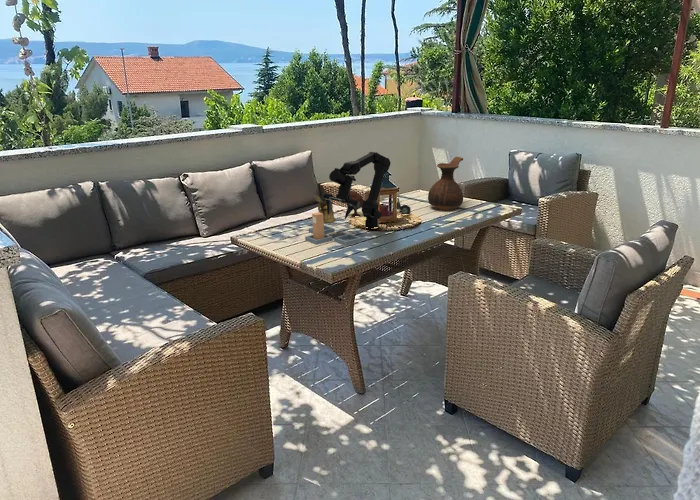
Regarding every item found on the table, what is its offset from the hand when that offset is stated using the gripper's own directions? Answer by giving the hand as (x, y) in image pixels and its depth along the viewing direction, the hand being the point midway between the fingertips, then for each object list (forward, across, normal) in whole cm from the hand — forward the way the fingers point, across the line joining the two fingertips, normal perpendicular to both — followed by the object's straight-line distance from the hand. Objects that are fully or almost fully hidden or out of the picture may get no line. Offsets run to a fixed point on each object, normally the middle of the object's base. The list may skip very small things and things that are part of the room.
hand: (336, 216), depth 279 cm
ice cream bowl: (-7, +6, -50) cm, 50 cm away
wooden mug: (+2, +18, -35) cm, 39 cm away
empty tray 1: (+9, +11, -15) cm, 21 cm away
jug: (-28, -41, -75) cm, 90 cm away
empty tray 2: (+11, -9, -2) cm, 14 cm away
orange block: (+14, +6, -1) cm, 15 cm away
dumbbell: (-18, -16, -64) cm, 68 cm away
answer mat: (+9, 0, -10) cm, 14 cm away
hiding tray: (+14, +6, -2) cm, 16 cm away
